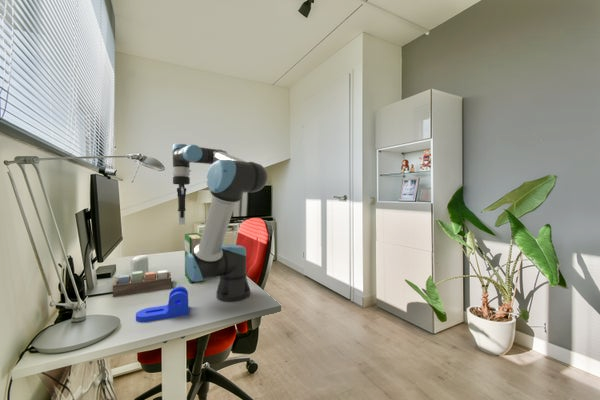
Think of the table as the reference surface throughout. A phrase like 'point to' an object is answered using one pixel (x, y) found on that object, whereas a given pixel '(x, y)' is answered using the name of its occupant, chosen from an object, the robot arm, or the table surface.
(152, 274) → the peach cube
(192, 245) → the hardback book
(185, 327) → the table surface
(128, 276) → the light blue cube
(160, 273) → the white cube
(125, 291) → the wooden compartment tray
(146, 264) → the photo printer
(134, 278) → the light green cube
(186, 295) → the bracket
